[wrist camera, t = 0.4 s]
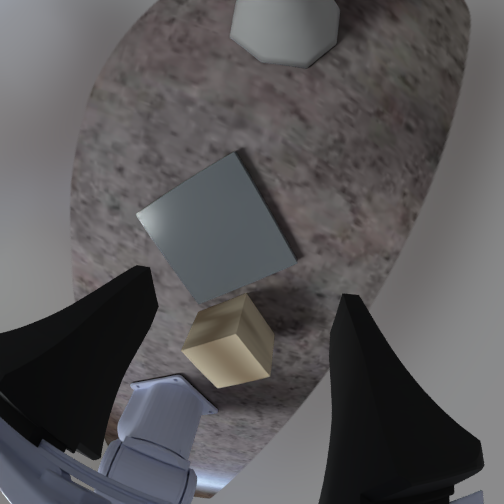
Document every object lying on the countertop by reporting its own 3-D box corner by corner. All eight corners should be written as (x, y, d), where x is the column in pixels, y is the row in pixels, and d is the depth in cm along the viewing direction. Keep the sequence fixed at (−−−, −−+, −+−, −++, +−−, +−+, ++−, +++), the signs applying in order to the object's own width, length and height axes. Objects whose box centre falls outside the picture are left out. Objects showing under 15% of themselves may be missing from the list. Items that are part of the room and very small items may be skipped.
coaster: (200, 300, 24) (198, 304, 23) (139, 212, 21) (135, 214, 20) (297, 259, 21) (297, 263, 20) (235, 150, 18) (234, 151, 17)
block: (228, 348, 26) (217, 388, 22) (198, 311, 24) (181, 350, 20) (274, 333, 24) (270, 376, 20) (246, 292, 23) (236, 333, 18)
